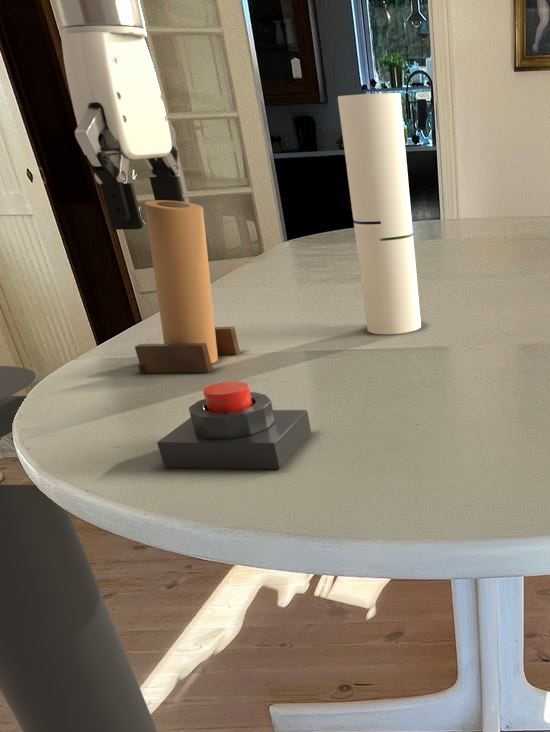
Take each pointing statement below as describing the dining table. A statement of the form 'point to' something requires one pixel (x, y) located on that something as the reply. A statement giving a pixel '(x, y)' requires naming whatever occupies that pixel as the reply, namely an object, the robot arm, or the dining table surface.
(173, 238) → the paper roll
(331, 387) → the dining table surface
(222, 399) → the button
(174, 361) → the roll stand
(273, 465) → the button box
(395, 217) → the cylindrical container
